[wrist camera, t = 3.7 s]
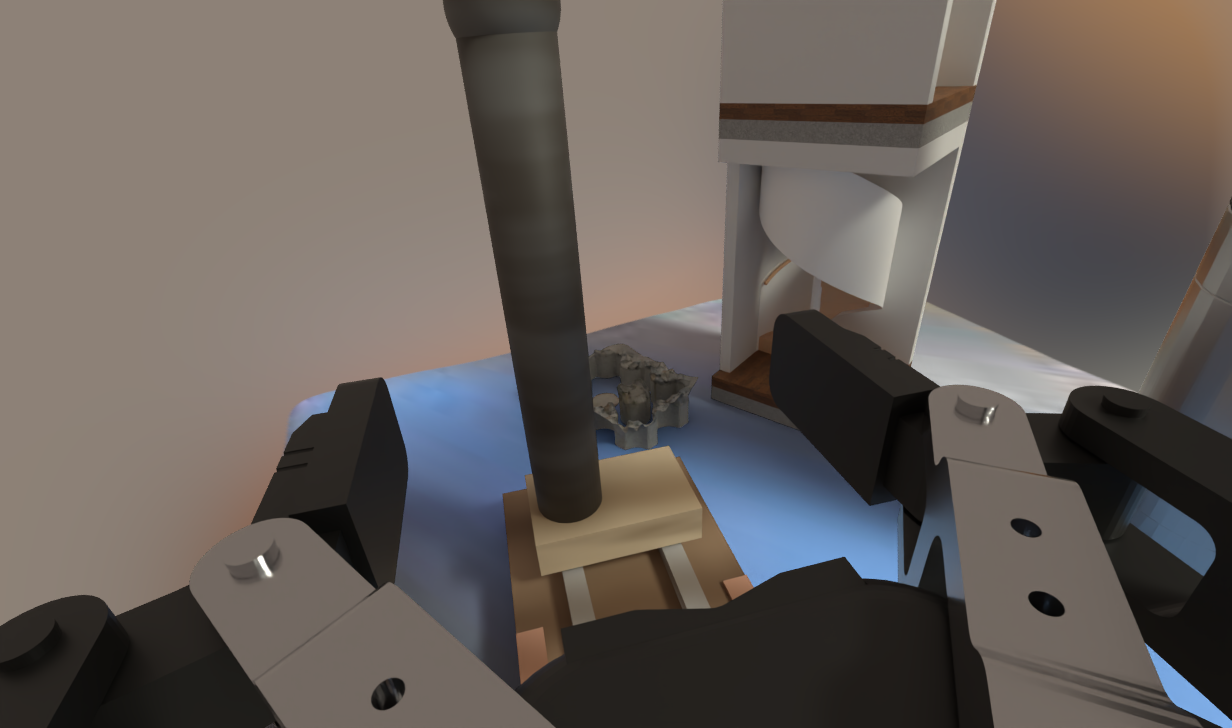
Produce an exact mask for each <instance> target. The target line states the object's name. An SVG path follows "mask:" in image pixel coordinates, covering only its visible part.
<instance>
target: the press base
mask: <svg viewBox="0 0 1232 728" xmlns="http://www.w3.org/2000/svg"><path fill="white" fill-rule="evenodd" d="M676 460H677V462H678V464H679V465H680V467H681V469H682V471H683V473H684V475H685V477H686V478H687V480H688V482H689V484H690V486H691V488H692V490H693V491H694V493H695V495H696V497H697V499H698V501H699V503H700V504H701V506H702V538H698V539H694V540H690V541H686V542H682V543H678V544H673V545H669V546H665V547H661V548H657V549H652V550H648V551H644V552H640V553H636V554H632V555H627V556H623V557H619V558H615V559H611V560H607V561H602V562H598V563H594V564H590V565H586V566H581V567H577V568H573V569H569V570H565V571H561V572H556V573H552V574H548V575H544V576H541V571H540V566H539V561H538V555H537V550H536V544H535V538H534V531H533V525H532V519H531V512H530V506H529V499H528V493H527V489H523V490H519V491H514V492H509V493H504V494H503V503H504V513H505V523H506V534H507V544H508V554H509V564H510V574H511V584H512V595H513V605H514V615H515V625H516V639H517V650H518V660H519V670H520V680H521V684H522V683H523V682H524V681H526V680H527V679H528V678H529V677H530V676H531V675H532V674H534V673H535V672H536V671H538V670H539V669H541V668H542V667H543V666H545V665H546V664H548V663H549V662H551V661H552V660H554V659H556V658H558V657H560V656H562V655H563V654H564V648H563V642H562V635H561V628H565V627H569V626H573V625H577V624H581V623H585V622H589V621H593V620H597V619H601V618H605V617H609V616H613V615H617V614H621V613H625V612H629V611H632V610H646V609H698V608H716V607H719V606H722V605H724V604H726V603H728V602H730V601H731V600H733V599H735V598H737V597H738V596H740V595H742V594H744V593H746V592H747V591H749V590H751V589H753V588H754V587H753V586H752V584H751V582H750V580H749V578H748V577H747V575H745V574H744V573H743V571H742V569H741V567H740V565H739V564H738V562H737V560H736V558H735V556H734V554H733V553H732V551H731V549H730V547H729V545H728V544H727V542H726V540H725V538H724V536H723V534H722V533H721V531H720V529H719V527H718V525H717V524H716V522H715V520H714V518H713V516H712V515H711V513H710V511H709V509H708V507H707V505H706V504H705V502H704V500H703V498H702V496H701V495H700V493H699V491H698V489H697V487H696V485H695V484H694V482H693V480H692V478H691V476H690V475H689V473H688V471H687V469H686V467H685V465H684V464H683V462H682V460H681V458H680V457H676Z"/></svg>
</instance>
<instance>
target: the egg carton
mask: <svg viewBox="0 0 1232 728" xmlns="http://www.w3.org/2000/svg"><path fill="white" fill-rule="evenodd" d="M589 367H590V377H591V380H592V379H594V378H596V377H600V378H611V377H614V376H619V377H621V383H620V384H618V386H617V390H618V394H619V398H618V397H617V396H616V395H615V394H611V393H602V394H598V395H596V396H595V397H593V406H594V407H593V408H594V418H595V428H596V430H598V429H611V430H614V431H615V444H616V445H617V446H618V447H620V448H622V449H624V450H627V449H630V448H635V447H638V448H644V449H651V448H652V447H654V446H655V445H657V444H658V437H657V429H659V428H661V427H667V426H672V427H678V428H680V427H682V426H684V425H685V424H687V423H688V422H689V421H688V402H689V399H688V396H687V395H688V394H689V392H690V390H691V388H692V387H693V386H694V384H695V382H696V381H697V379H698V377H690V376H686V375H683V374H679V375H678V374H676V373H675V372H674V370H673V369H670V370H668V368H667V367H666V365H665V364H664V362H656V361H654V360H652V359H650V358H648V357H644V356H642V355H640V354H639V353H637V352H636V351H635V350H633V349H632V348H630V347H629V346H627V345H624V344H616V345H612V346H608V347H606V348H604V349H603V350H601V351H599V350H598V351H597V350H594V353H593V354H592V355H591V356H589ZM591 387H592V382H591ZM649 391H650V392H651V394H650V392H649ZM650 397H651V402H652V403H653V408H652V415H653V421H652V422H651V423H650V424H648V425H645V424H647V423H648V422H649V421H650V419H651V406H650ZM618 403H620V415H621V421H622V422H623V423H624V424H625V425H627V426H626V427H623V426H622V425H620V424H618V413H617V411H616V409H615V407H616V406H617V405H618Z"/></svg>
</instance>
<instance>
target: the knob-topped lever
mask: <svg viewBox="0 0 1232 728" xmlns="http://www.w3.org/2000/svg"><path fill="white" fill-rule="evenodd" d="M443 5H444V10H445V15H446V18H447V21H448V24H449V26H450V29H451V31H452V32H453V34H454V36H455V38H456V42H457V47H458V53H459V59H460V64H461V69H462V76H463V82H464V87H465V92H466V99H467V104H468V110H469V116H470V122H471V127H472V133H473V138H474V144H475V150H476V156H477V161H478V167H479V173H480V178H481V184H482V190H483V195H484V201H485V207H486V213H487V218H488V224H489V230H490V235H491V241H492V247H493V253H494V258H495V264H496V270H497V275H498V281H499V287H500V293H501V298H502V304H503V310H504V315H505V321H506V327H507V333H508V338H509V344H510V349H511V355H512V361H513V367H514V372H515V378H516V384H517V390H518V395H519V401H520V407H521V412H522V418H523V424H524V429H525V435H526V441H527V447H528V452H529V458H530V464H531V469H532V474H529V475H525V480H526V486H527V493H528V499H529V506H530V512H531V519H532V525H533V531H534V538H535V544H536V550H537V555H538V561H539V566H540V571H541V576H544V575H548V574H552V573H556V572H561V571H565V570H569V569H573V568H577V567H581V566H586V565H590V564H594V563H598V562H602V561H607V560H611V559H615V558H619V557H623V556H627V555H632V554H636V553H640V552H644V551H648V550H652V549H657V548H661V547H665V546H669V545H673V544H678V543H682V542H686V541H690V540H694V539H698V538H702V506H701V504H700V503H699V501H698V499H697V497H696V495H695V493H694V491H693V490H692V488H691V486H690V484H689V482H688V480H687V478H686V477H685V475H684V473H683V471H682V469H681V467H680V465H679V464H678V462H677V460H676V458H675V456H674V454H673V452H672V451H671V449H670V447H669V446H665V447H660V448H655V449H651V450H646V451H641V452H636V453H631V454H626V455H621V456H617V457H612V458H607V459H602V460H599V459H598V449H597V439H596V428H595V418H594V408H593V397H592V387H591V377H590V367H589V356H588V346H587V336H586V325H585V316H584V306H583V295H582V284H581V274H580V264H579V253H578V243H577V233H576V222H575V212H574V202H573V191H572V183H571V171H570V161H569V152H568V151H569V150H568V140H567V130H566V120H565V110H564V99H563V88H562V79H561V68H560V58H559V48H558V37H557V30H558V27H559V22H560V13H561V12H560V11H561V4H560V0H443Z"/></svg>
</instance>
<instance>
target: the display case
mask: <svg viewBox="0 0 1232 728" xmlns="http://www.w3.org/2000/svg"><path fill="white" fill-rule="evenodd" d="M995 4H996V0H723V13H722V48H721V49H722V51H721V82H720V117H719V151H718V162H724V163H727V190H726V216H725V217H726V218H725V242H724V244H725V245H724V269H723V297H722V323H721V350H720V370H719V371H718V372H716V373H715V374H714V375H713V376H712V390H711V398H712V399H714V400H717V401H720V402H723V403H725V404H728V405H731V406H734V407H736V408H739V409H742V410H745V411H747V412H750V413H753V414H756V415H758V416H761V417H764V418H767V419H769V420H772V421H775V422H778V423H780V424H783V425H786V426H789V427H791V428H794V429H797V430H799V429H798V428H797V427H796V426H795V425H794V424H793V423H792V422H791V421H790V420H789V419H788V417H787V416H786V415H785V414H784V413H783V412H782V411H781V410H780V409H779V408H778V407H777V405H776V404H775V402H774V400H773V398H772V395H771V392H770V386H769V373H770V362H771V351H772V340H773V329H774V323H775V320H776V318H777V317H778V316H779V315H780V314H785V313H792V312H798V311H804V310H810V309H815V310H817V311H819V312H820V313H822V314H823V315H825V316H826V317H828V318H829V319H831V320H832V321H834V322H835V323H836V324H838V325H839V326H841V327H842V328H844V329H847V330H850V331H853V332H855V333H858V334H861V335H864V336H865V337H867V338H868V339H870V340H871V341H873V342H874V343H876V344H877V345H879V346H880V347H881V349H882V350H884V349H885V350H886V351H888V352H889V353H891V354H892V355H894V356H895V358H896V360H897V359H900V360H901V361H903V362H904V363H906V364H907V365H909V366H910V367H911V364H912V359H913V355H914V351H915V346H916V342H917V338H918V334H919V329H920V325H921V321H922V316H923V312H924V308H925V304H926V299H927V295H928V291H929V286H930V282H931V278H932V274H933V269H934V265H935V261H936V256H937V252H938V248H939V244H940V239H941V235H942V231H943V226H944V222H945V218H946V213H947V209H948V205H949V201H950V197H951V192H952V187H953V184H954V179H955V175H956V171H957V167H958V162H959V158H960V154H961V149H962V145H963V141H964V137H965V132H966V128H967V124H968V119H969V115H970V111H971V106H972V102H973V98H974V94H975V89H976V85H977V80H978V76H979V72H980V68H981V64H982V59H983V55H984V51H985V47H986V42H987V38H988V34H989V30H990V25H991V21H992V17H993V12H994V8H995Z"/></svg>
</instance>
